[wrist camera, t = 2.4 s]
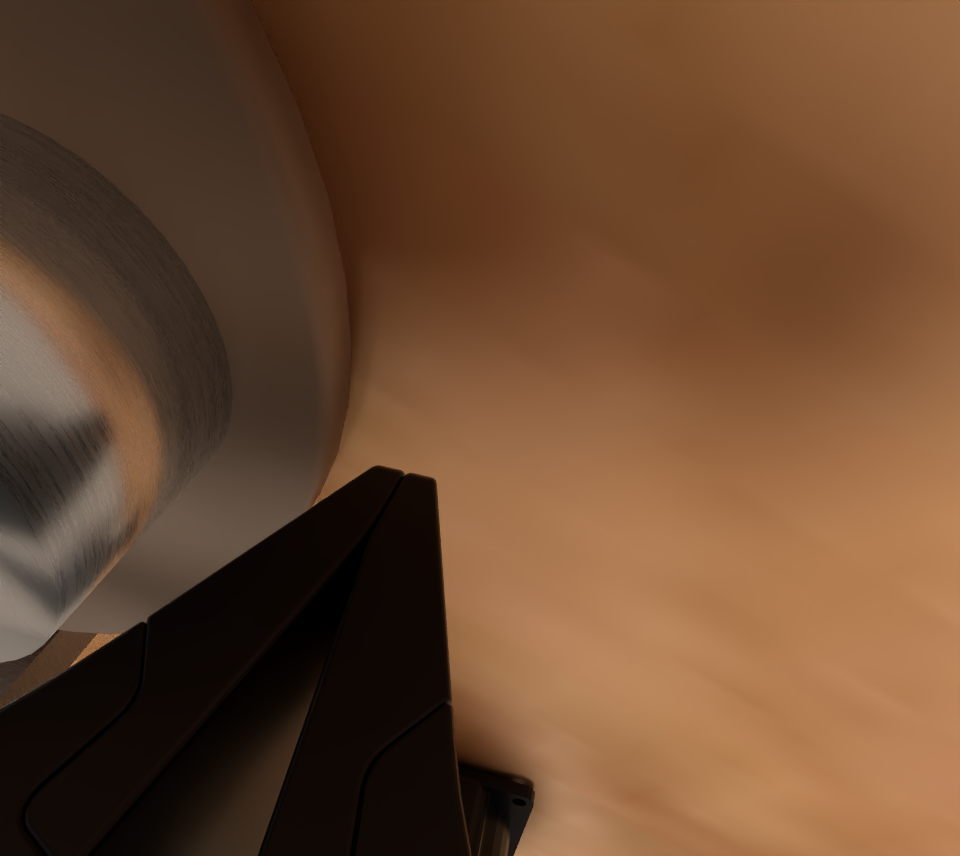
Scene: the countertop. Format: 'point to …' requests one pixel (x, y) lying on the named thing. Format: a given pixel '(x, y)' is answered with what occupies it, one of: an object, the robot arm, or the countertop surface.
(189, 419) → the aluminium cover
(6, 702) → the post
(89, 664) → the robot arm
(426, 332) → the countertop surface
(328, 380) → the turntable
